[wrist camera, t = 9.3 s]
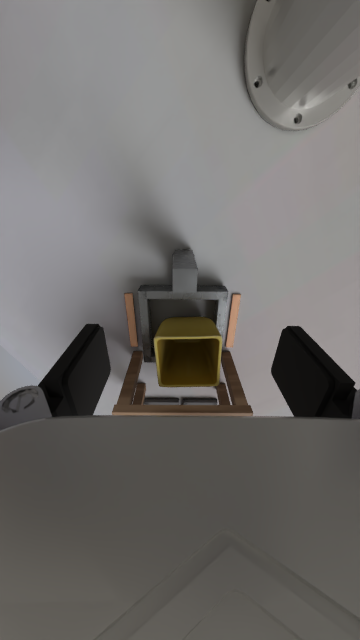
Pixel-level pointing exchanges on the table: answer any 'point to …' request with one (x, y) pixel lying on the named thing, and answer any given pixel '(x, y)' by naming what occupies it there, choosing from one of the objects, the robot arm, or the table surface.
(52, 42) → the table surface
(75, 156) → the table surface
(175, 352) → the flower pot
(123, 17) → the table surface
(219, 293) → the grey tray with upright
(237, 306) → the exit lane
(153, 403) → the frames
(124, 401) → the small wooden table
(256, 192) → the table surface
